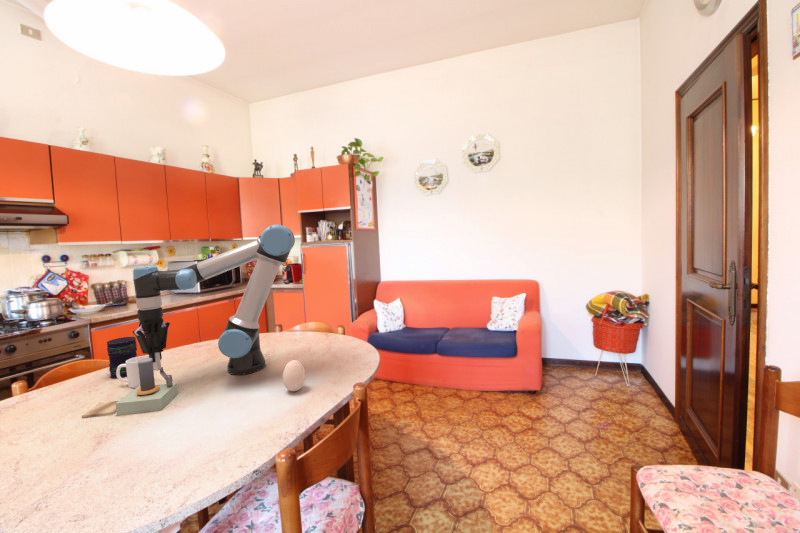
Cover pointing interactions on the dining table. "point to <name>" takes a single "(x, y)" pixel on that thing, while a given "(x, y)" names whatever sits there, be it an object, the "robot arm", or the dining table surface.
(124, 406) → the socket block
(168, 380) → the clip
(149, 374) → the plug
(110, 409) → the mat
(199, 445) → the dining table surface
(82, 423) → the dining table surface
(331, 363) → the dining table surface
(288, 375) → the egg
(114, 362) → the storage jar
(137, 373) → the cup
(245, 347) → the robot arm
